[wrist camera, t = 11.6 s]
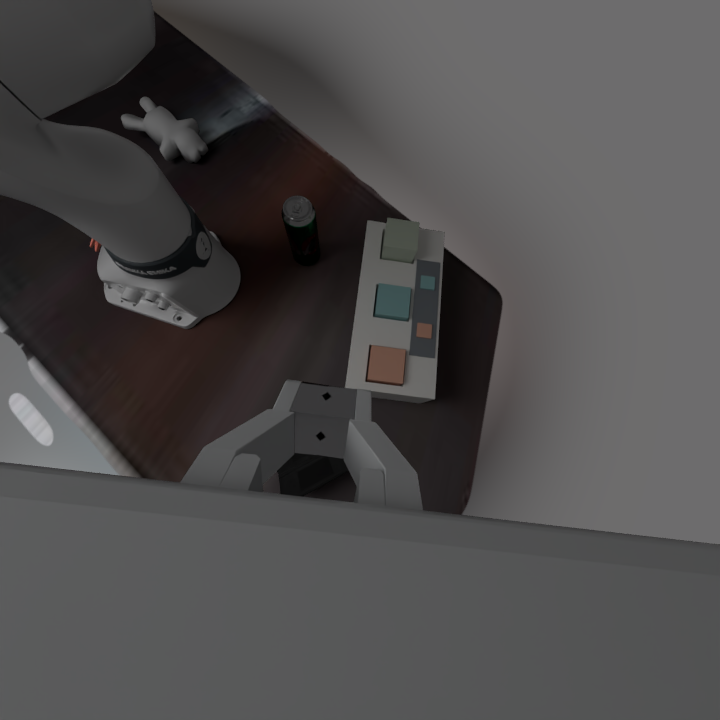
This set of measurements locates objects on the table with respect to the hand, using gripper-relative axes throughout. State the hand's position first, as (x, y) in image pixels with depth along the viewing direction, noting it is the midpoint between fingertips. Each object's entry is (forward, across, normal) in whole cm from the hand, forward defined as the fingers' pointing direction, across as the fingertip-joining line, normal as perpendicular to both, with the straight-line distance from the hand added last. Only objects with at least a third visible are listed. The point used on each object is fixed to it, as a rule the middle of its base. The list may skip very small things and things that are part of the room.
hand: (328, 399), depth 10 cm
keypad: (+39, -7, +13) cm, 42 cm away
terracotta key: (+29, -6, +17) cm, 35 cm away
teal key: (+36, -6, +10) cm, 38 cm away
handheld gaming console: (+23, +4, +31) cm, 38 cm away
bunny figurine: (+62, +40, -9) cm, 75 cm away
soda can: (+47, +10, +6) cm, 49 cm away
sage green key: (+42, -6, +2) cm, 42 cm away
